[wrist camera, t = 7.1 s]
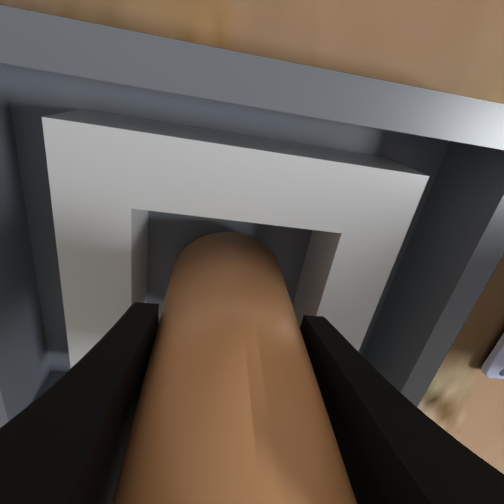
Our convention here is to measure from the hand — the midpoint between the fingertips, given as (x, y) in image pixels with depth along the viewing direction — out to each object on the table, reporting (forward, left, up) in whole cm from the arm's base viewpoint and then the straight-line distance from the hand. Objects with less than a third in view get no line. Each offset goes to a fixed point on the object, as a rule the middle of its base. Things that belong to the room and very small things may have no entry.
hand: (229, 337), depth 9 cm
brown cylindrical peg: (0, 0, -3) cm, 3 cm away
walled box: (0, 0, -4) cm, 4 cm away
